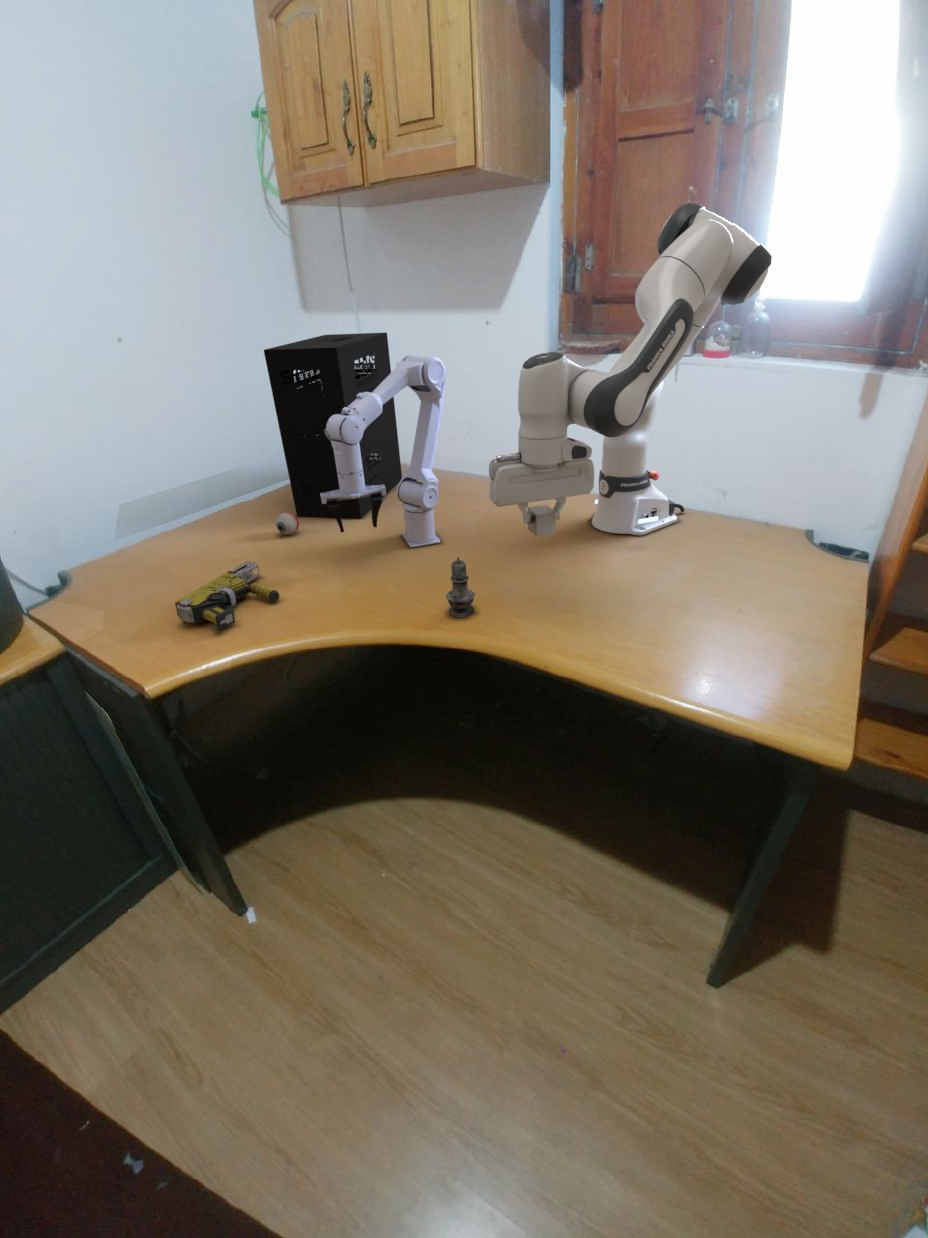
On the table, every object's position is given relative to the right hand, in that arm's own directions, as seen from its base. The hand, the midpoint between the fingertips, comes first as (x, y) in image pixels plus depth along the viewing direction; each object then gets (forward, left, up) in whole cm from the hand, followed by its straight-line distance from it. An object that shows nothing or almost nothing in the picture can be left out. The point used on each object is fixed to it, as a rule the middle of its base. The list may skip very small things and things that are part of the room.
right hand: (541, 520), depth 118 cm
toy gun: (+57, -30, -17) cm, 66 cm away
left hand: (+28, -36, -8) cm, 46 cm away
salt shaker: (+17, -3, -17) cm, 24 cm away
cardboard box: (+16, -88, -17) cm, 91 cm away
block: (0, 0, -2) cm, 2 cm away
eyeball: (+40, -66, -17) cm, 79 cm away
